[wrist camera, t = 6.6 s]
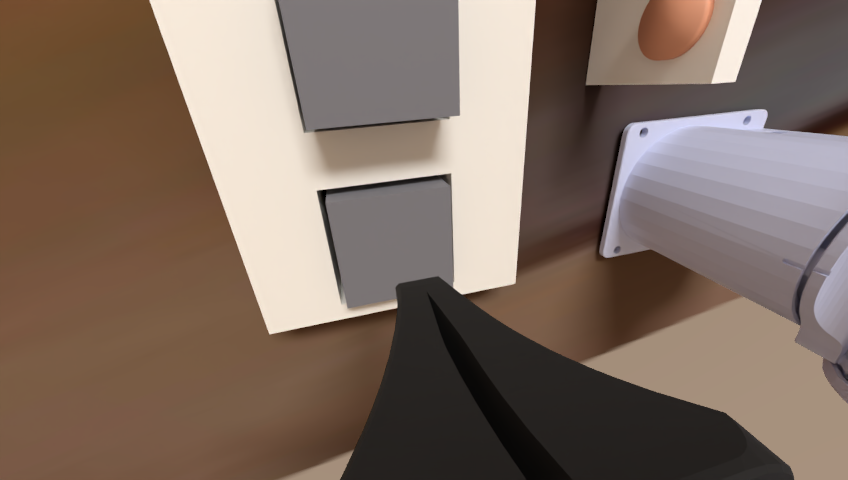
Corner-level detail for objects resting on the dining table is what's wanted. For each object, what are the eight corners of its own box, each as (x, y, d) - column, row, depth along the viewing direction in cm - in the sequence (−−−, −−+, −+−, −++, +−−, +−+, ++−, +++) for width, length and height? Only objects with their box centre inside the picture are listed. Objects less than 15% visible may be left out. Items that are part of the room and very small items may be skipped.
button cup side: (431, 169, 15) (450, 186, 13) (436, 258, 17) (453, 287, 15) (327, 183, 14) (325, 203, 12) (345, 274, 16) (347, 308, 14)
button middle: (428, -43, 11) (457, -83, 8) (435, 110, 13) (460, 115, 10) (278, -43, 10) (259, -88, 7) (312, 120, 12) (306, 130, 10)
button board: (518, -410, 9) (576, -566, 7) (494, 260, 19) (515, 283, 17) (7, -533, 7) (-147, -823, 5) (278, 301, 17) (269, 334, 14)
